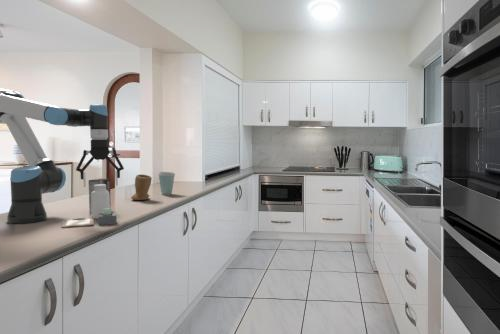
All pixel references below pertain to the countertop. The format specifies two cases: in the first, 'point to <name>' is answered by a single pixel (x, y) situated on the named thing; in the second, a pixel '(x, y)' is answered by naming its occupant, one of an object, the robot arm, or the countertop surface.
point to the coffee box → (91, 188)
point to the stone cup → (142, 187)
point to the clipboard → (78, 222)
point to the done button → (106, 211)
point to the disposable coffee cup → (166, 182)
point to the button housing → (107, 219)
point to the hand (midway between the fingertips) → (100, 186)
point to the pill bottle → (99, 200)
